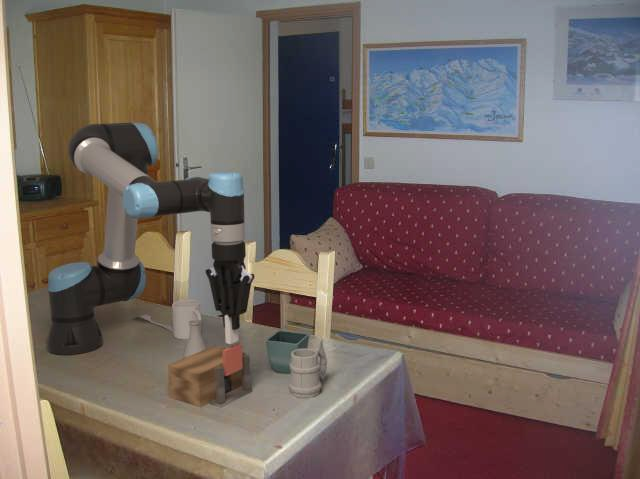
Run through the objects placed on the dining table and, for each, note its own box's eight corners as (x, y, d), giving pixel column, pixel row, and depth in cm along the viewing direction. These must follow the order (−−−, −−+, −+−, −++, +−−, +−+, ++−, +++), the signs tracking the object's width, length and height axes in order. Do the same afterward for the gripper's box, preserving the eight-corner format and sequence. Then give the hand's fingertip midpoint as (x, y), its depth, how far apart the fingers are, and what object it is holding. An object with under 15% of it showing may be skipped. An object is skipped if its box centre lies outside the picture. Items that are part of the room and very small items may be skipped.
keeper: (223, 375, 160) (222, 350, 159) (239, 367, 164) (238, 343, 163) (226, 376, 159) (225, 351, 158) (242, 368, 164) (241, 344, 162)
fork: (172, 339, 212) (172, 331, 211) (130, 319, 224) (130, 311, 224) (179, 337, 214) (179, 329, 213) (137, 317, 226) (137, 309, 226)
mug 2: (282, 393, 165) (281, 345, 163) (313, 378, 174) (313, 332, 172) (306, 401, 161) (306, 352, 158) (338, 385, 170) (337, 338, 167)
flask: (204, 362, 186) (202, 326, 184) (178, 360, 187) (176, 324, 185) (213, 352, 193) (212, 318, 191) (188, 351, 194) (187, 316, 192)
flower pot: (310, 365, 182) (309, 333, 181) (298, 378, 174) (297, 344, 173) (279, 362, 185) (278, 329, 184) (265, 374, 177) (265, 340, 175)
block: (169, 397, 164) (167, 360, 162) (216, 375, 177) (215, 341, 175) (213, 411, 156) (211, 373, 154) (259, 387, 169) (258, 352, 167)
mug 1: (189, 344, 199) (188, 311, 197) (168, 334, 208) (167, 303, 206) (213, 338, 204) (212, 306, 203) (192, 329, 213) (190, 298, 211)
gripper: (195, 241, 156) (199, 341, 161) (239, 247, 149) (242, 352, 154) (218, 235, 162) (222, 332, 167) (261, 241, 155) (264, 342, 160)
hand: (232, 341), depth 160 cm, fingers closed
